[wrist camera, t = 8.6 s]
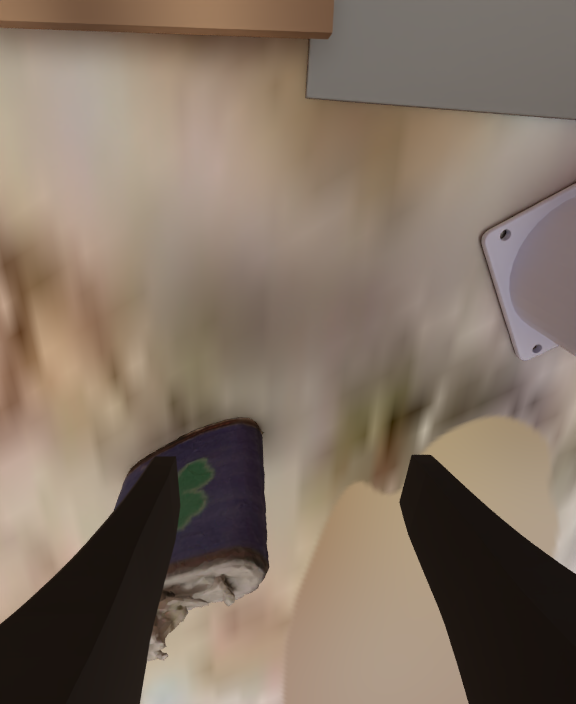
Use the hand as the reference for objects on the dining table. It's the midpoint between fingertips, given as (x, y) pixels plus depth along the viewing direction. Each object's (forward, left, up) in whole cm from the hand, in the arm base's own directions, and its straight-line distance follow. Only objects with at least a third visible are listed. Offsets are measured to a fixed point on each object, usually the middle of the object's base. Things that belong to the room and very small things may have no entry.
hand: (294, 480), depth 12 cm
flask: (+8, +4, -10) cm, 14 cm away
